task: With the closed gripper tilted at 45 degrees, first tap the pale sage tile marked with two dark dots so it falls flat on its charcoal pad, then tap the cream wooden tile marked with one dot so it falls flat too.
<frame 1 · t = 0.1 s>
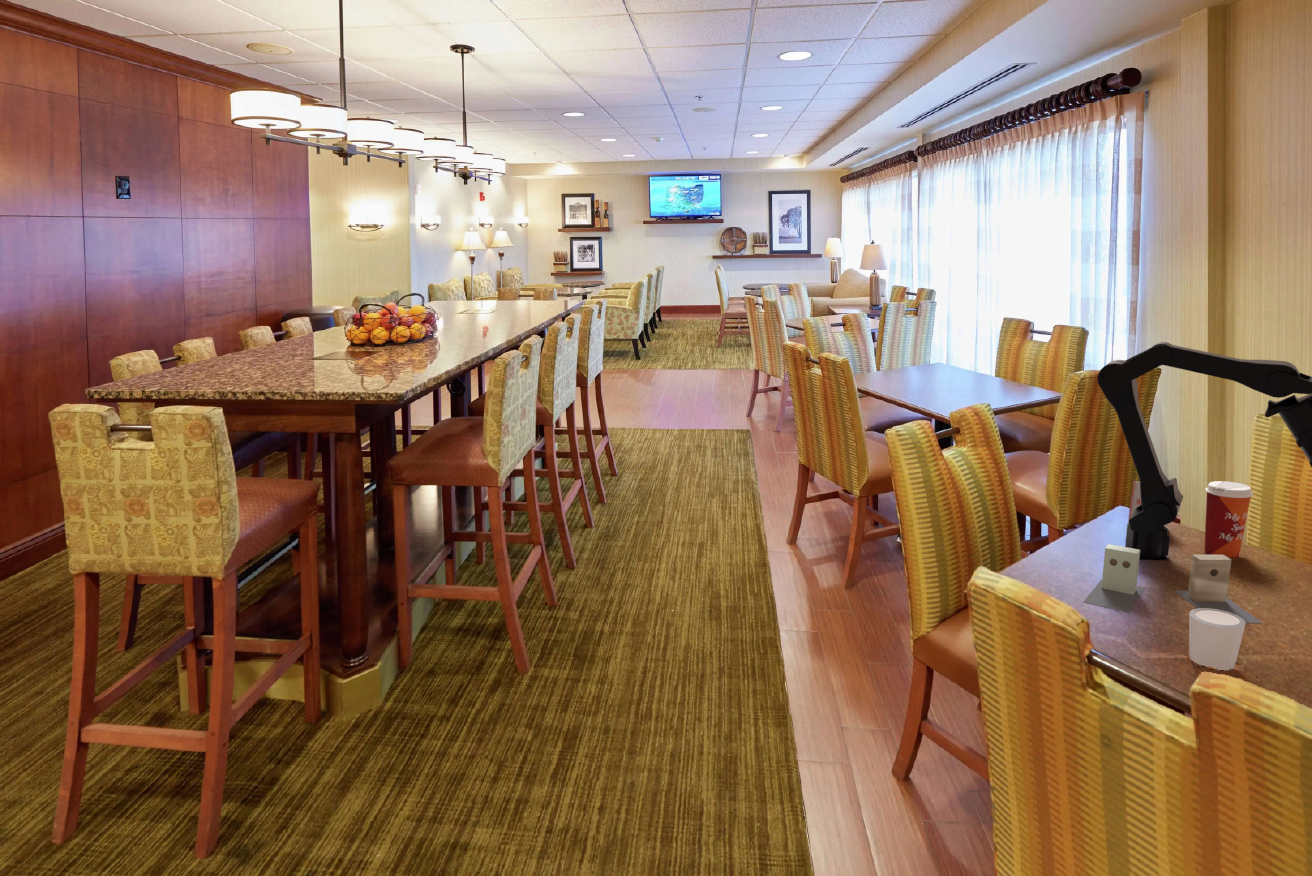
sage tile: (1118, 589, 149), point 1 cm above the table, touching tap pads
cream tile: (1206, 598, 144), point 1 cm above the table, touching tap pads
tap pads: (1167, 599, 145), on the table
tea bag: (1147, 529, 182), on the table
paper cup: (1221, 555, 165), on the table
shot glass: (1211, 662, 124), on the table
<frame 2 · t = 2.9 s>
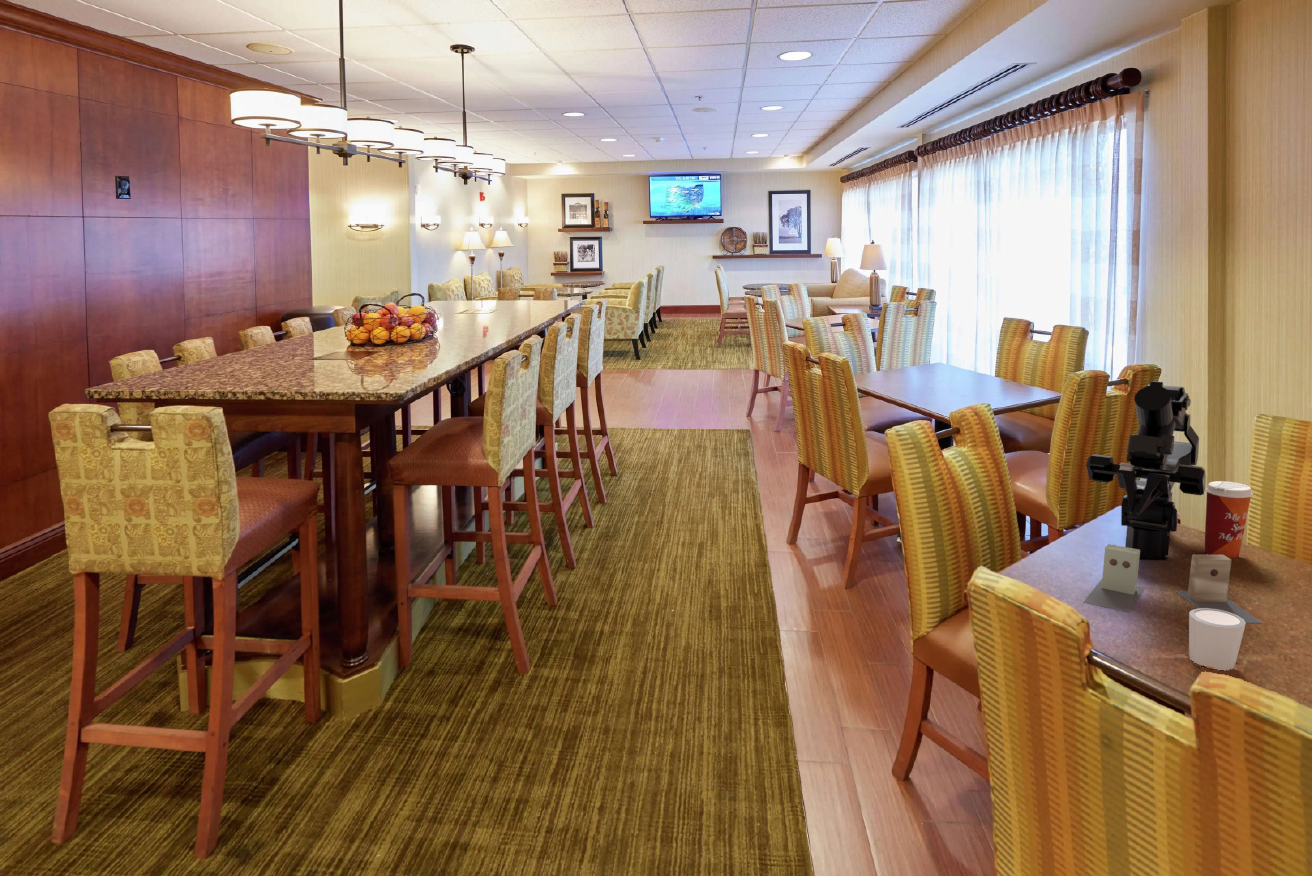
hand: (1134, 513, 152), 13 cm above the table, tool tilted 45°, fingers closed
nothing on the table moved.
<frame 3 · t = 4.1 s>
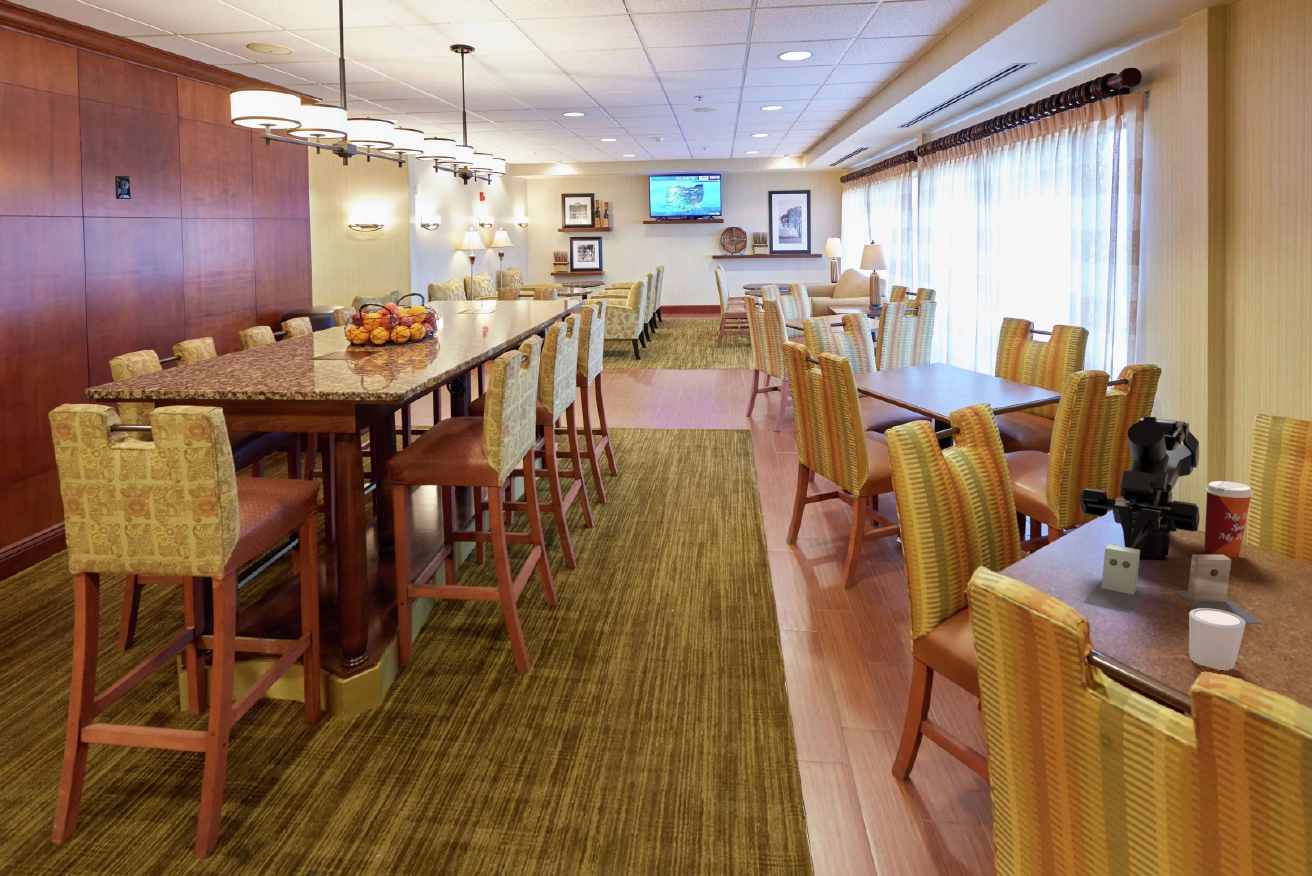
hand: (1127, 549, 151), 7 cm above the table, tool tilted 45°, fingers closed
nothing on the table moved.
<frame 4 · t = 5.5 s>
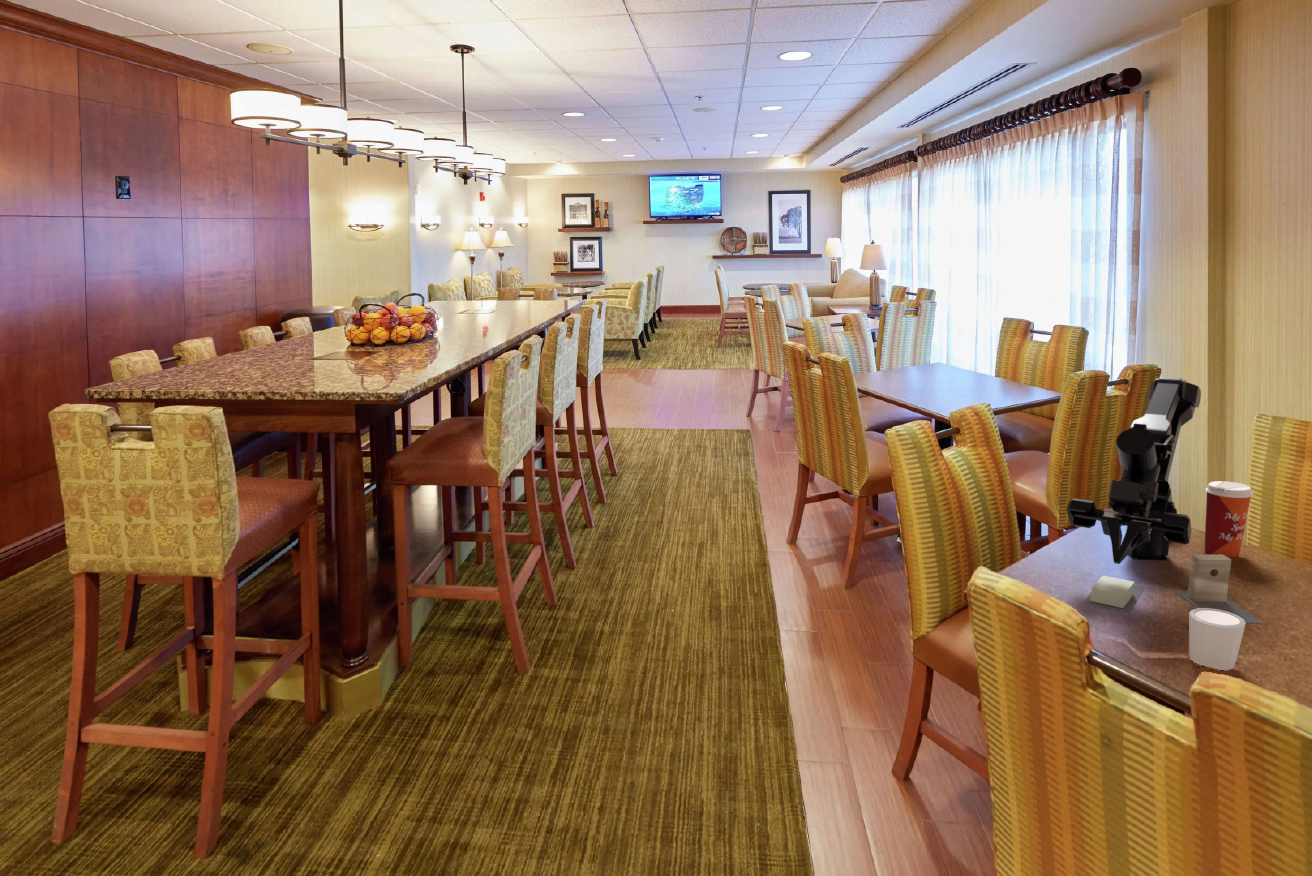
hand: (1116, 562, 144), 7 cm above the table, tool tilted 45°, fingers closed
sage tile: (1117, 585, 147), point 2 cm above the table, tilted 89°, touching tap pads
everything else where it was.
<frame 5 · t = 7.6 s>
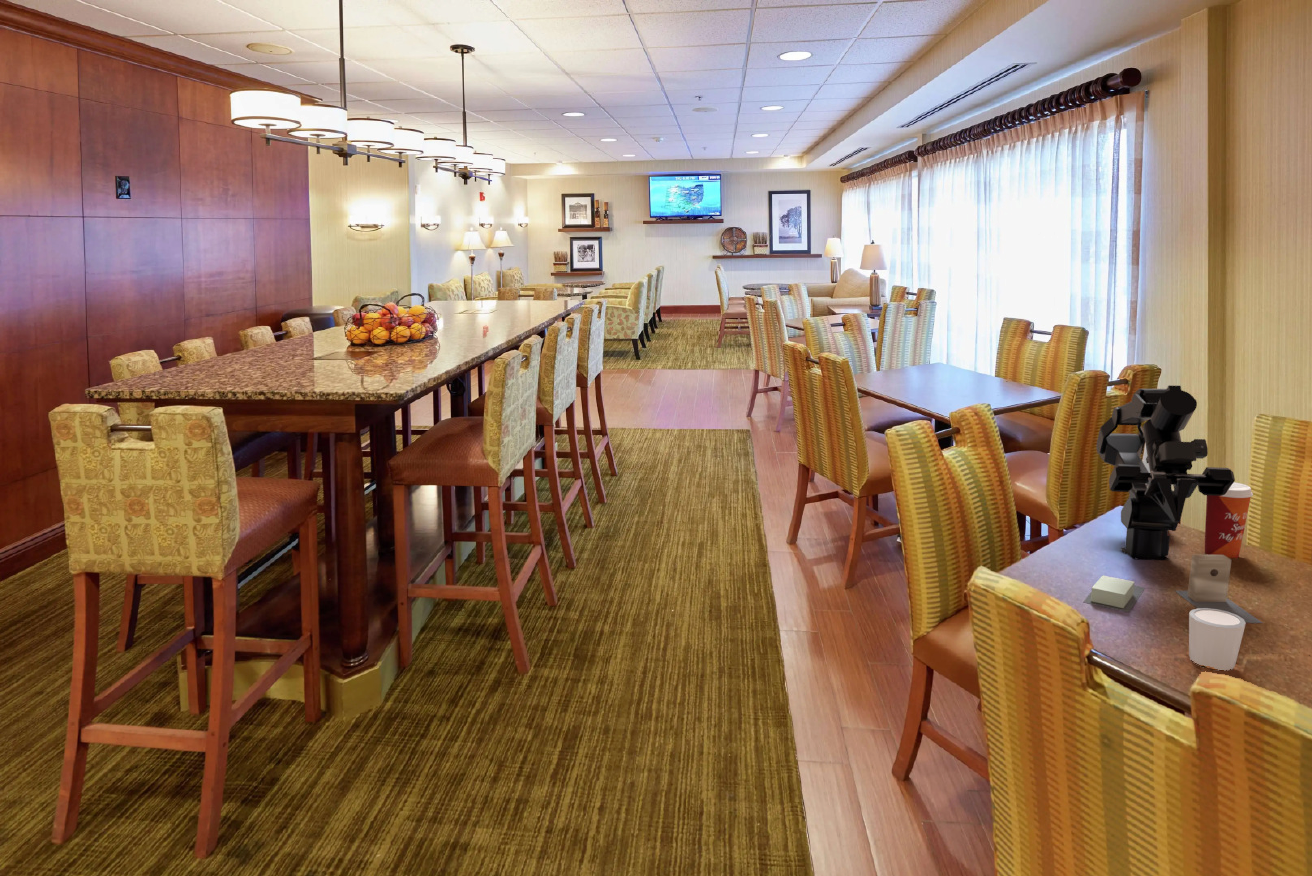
hand: (1177, 521, 148), 12 cm above the table, tool tilted 45°, fingers closed
nothing on the table moved.
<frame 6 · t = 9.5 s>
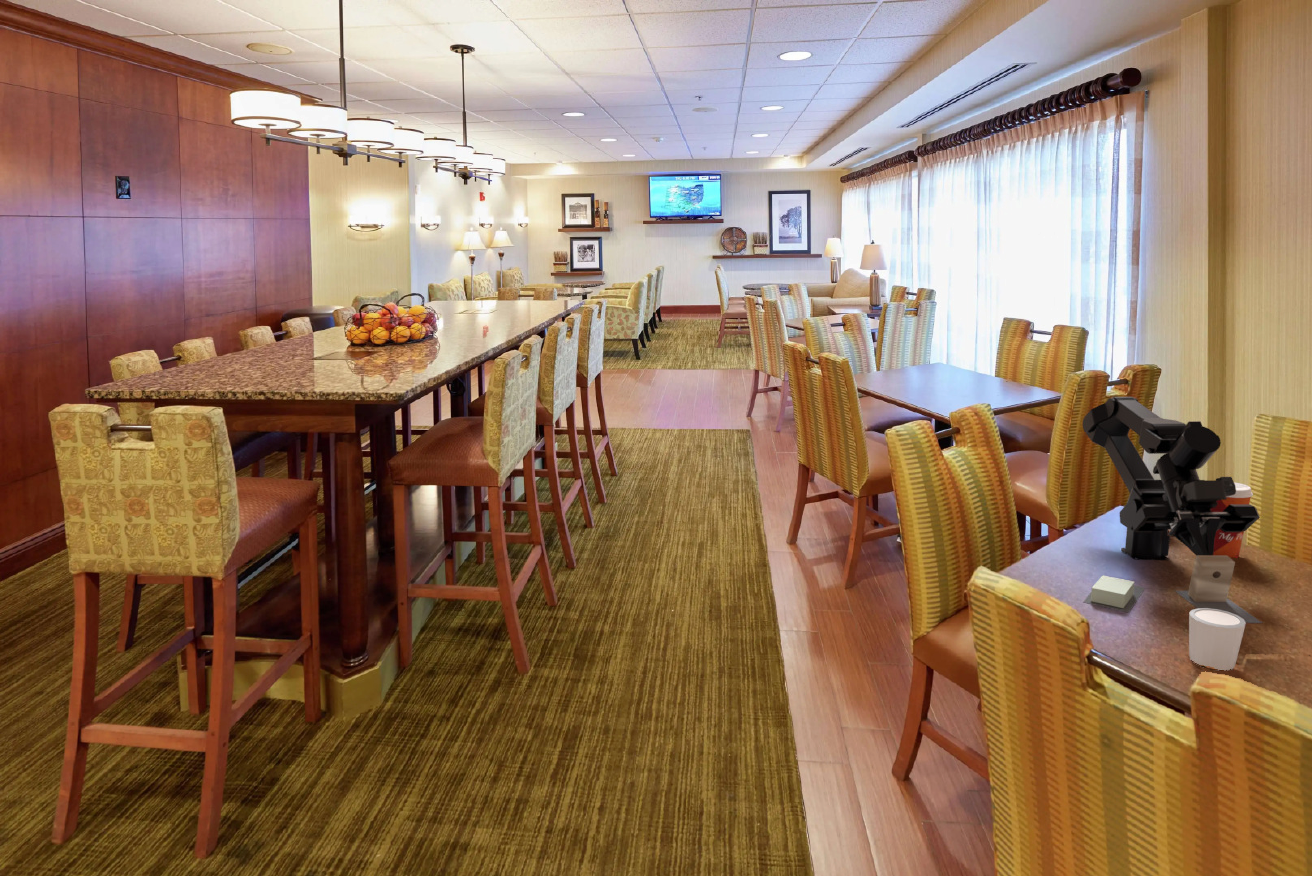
hand: (1209, 563, 143), 7 cm above the table, tool tilted 45°, fingers closed, pressing on cream tile
cream tile: (1206, 597, 144), point 1 cm above the table, tilted 8°, touching gripper, tap pads
everything else where it was.
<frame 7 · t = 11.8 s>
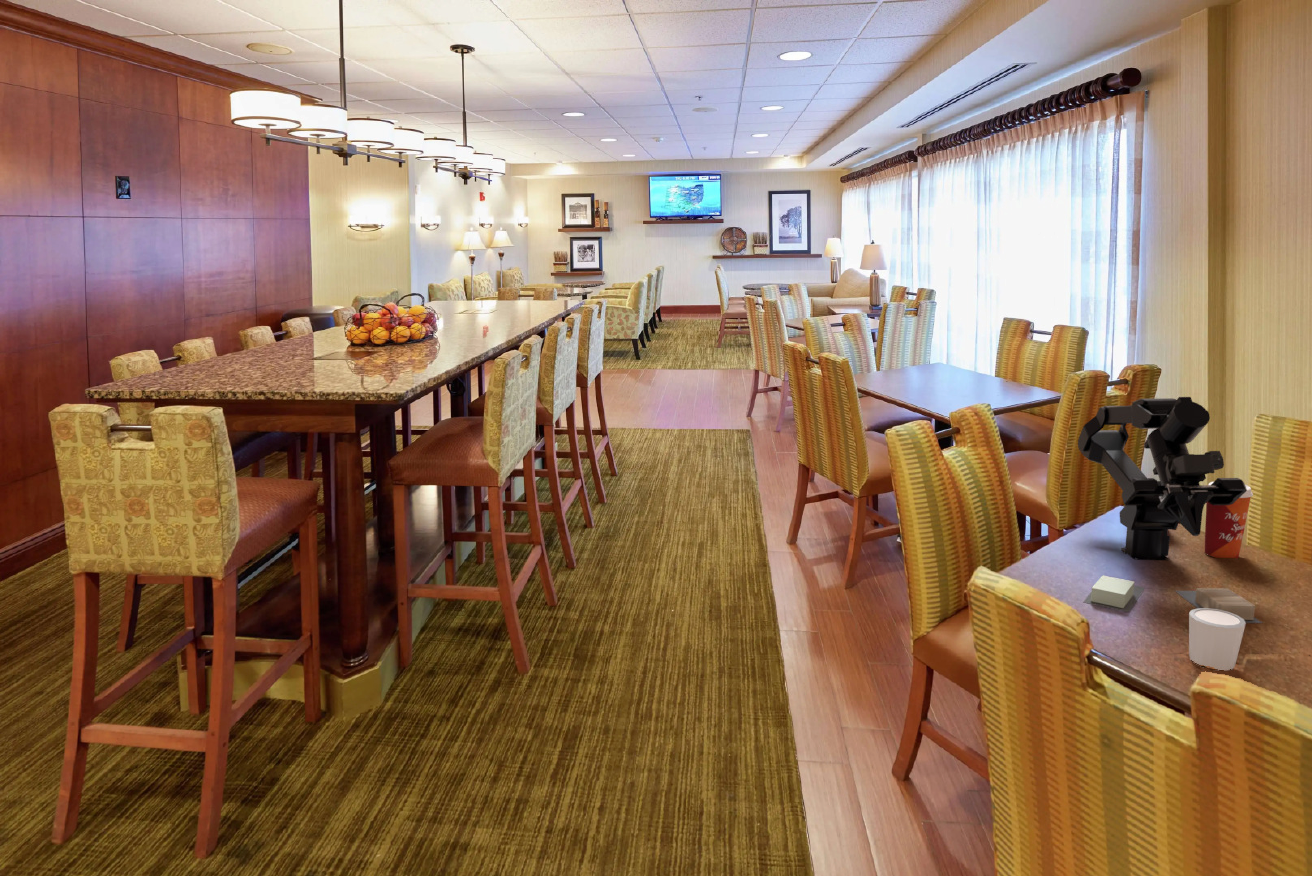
hand: (1196, 534, 147), 10 cm above the table, tool tilted 45°, fingers closed
cream tile: (1211, 595, 142), point 2 cm above the table, tilted 89°, touching tap pads
everything else where it was.
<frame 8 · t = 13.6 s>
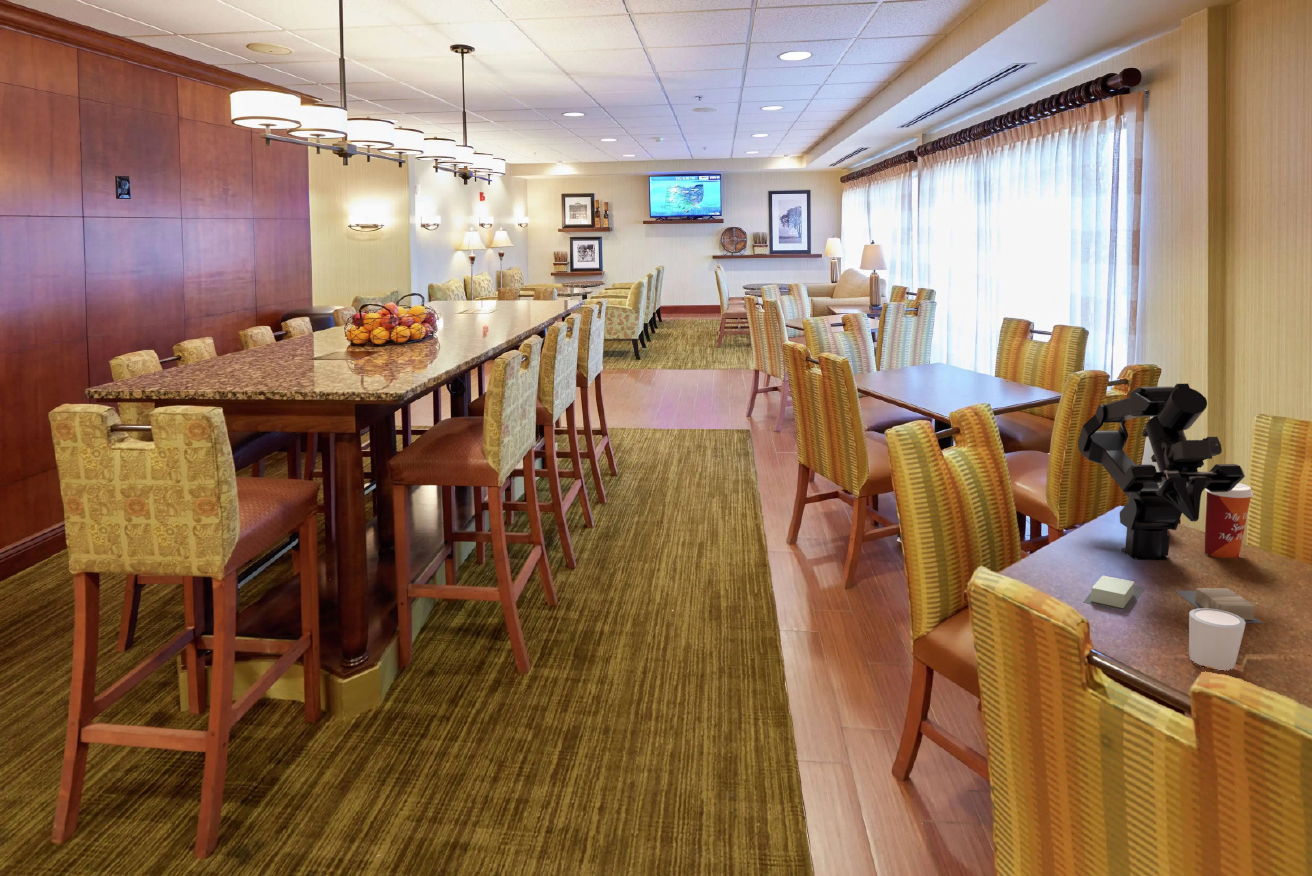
hand: (1195, 520, 147), 13 cm above the table, tool tilted 45°, fingers closed
nothing on the table moved.
at the end: sage tile tilted 89°; cream tile tilted 89° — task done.
